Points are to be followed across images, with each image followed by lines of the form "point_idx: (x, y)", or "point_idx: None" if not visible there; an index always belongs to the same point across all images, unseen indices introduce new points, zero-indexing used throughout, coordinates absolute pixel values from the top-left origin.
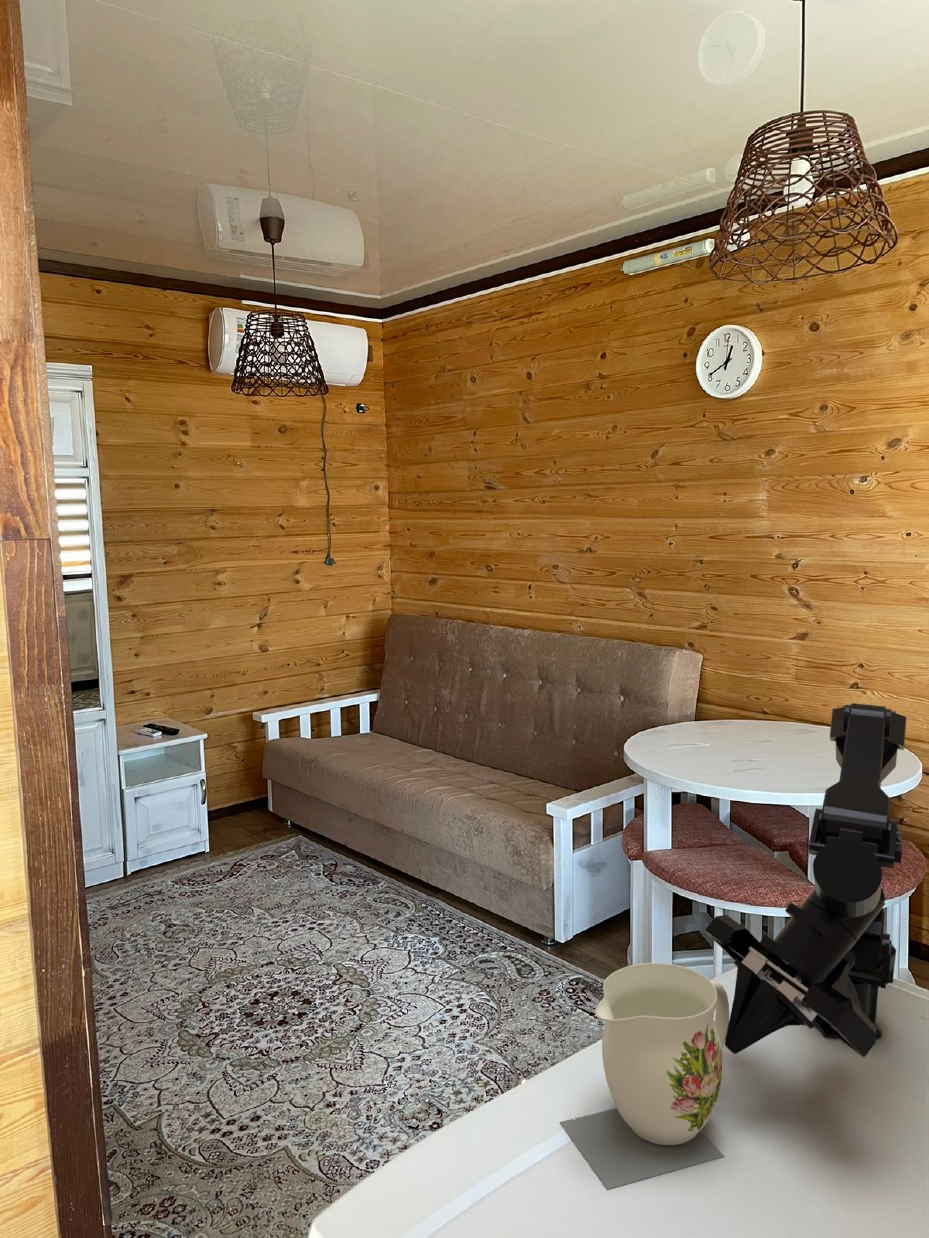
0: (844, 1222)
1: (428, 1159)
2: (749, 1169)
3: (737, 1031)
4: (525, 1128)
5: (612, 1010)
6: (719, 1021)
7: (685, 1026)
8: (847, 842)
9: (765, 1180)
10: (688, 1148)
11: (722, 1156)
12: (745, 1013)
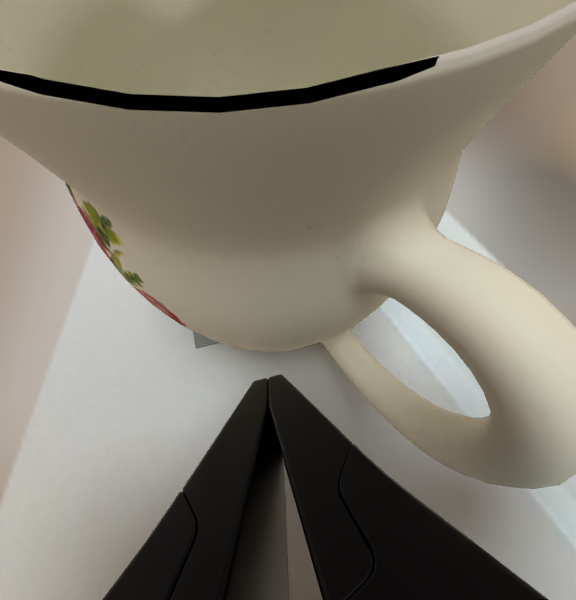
0: (18, 487)
1: None
2: (162, 377)
3: (244, 416)
4: None
5: (373, 32)
6: (434, 421)
7: None
8: None
9: (134, 393)
10: None
11: (195, 344)
12: (229, 486)
